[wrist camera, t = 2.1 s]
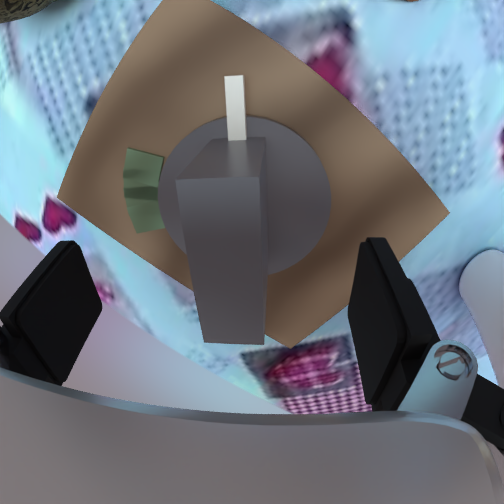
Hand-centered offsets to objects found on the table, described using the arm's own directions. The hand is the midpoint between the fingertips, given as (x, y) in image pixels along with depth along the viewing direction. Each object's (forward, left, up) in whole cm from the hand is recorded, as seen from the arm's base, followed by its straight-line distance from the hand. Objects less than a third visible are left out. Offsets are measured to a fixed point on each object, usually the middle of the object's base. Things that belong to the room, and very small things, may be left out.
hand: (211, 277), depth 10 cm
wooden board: (-1, 0, -10) cm, 10 cm away
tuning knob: (0, -1, -8) cm, 8 cm away
